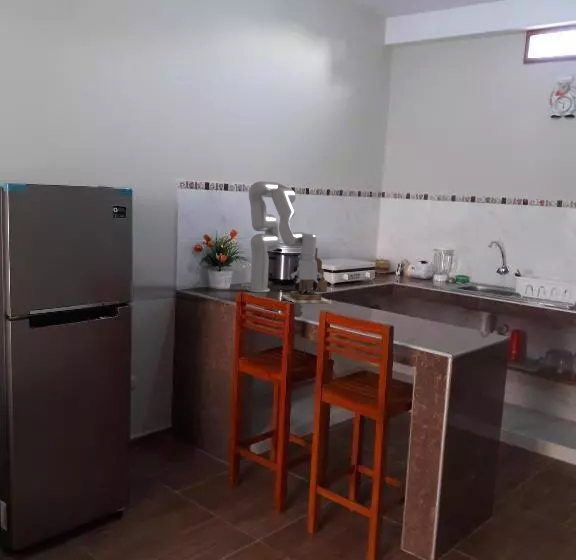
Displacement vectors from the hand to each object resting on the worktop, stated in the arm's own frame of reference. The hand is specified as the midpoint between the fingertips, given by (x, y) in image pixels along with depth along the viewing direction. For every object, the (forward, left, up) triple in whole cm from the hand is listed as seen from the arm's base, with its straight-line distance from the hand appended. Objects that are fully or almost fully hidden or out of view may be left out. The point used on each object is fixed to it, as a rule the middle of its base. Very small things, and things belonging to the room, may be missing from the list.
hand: (305, 290), depth 330 cm
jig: (0, 0, -5) cm, 5 cm away
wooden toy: (+15, +28, -5) cm, 32 cm away
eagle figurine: (0, +2, -3) cm, 4 cm away
